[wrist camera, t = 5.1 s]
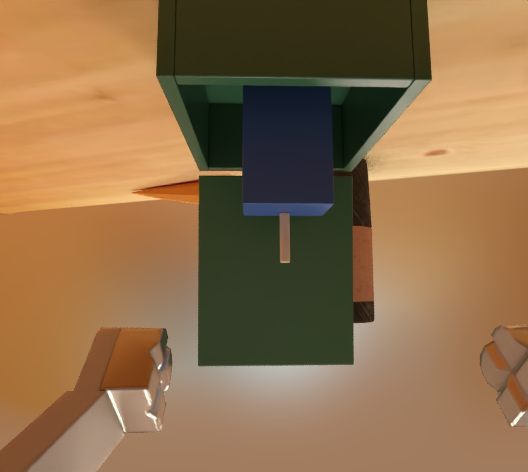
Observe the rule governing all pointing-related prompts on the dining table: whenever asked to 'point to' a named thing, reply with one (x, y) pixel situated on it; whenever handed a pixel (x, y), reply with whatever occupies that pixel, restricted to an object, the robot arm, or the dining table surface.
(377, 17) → the box
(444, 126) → the dining table surface
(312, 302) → the lunchbox lid
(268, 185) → the juice carton
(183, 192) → the carrot
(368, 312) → the travel mug
